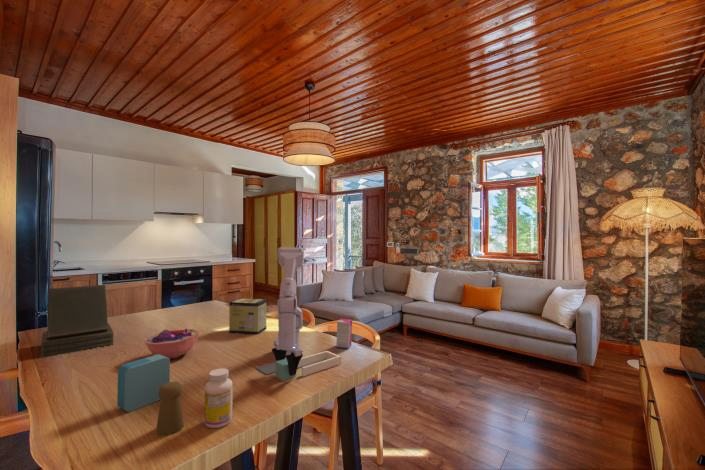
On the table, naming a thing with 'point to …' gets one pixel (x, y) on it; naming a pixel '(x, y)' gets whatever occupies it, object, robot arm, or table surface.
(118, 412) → the table surface
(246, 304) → the protein box
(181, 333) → the cell model
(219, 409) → the supplement bottle
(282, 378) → the block
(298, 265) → the robot arm
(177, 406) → the brown pepper mill
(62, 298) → the dark stepped-base plaque
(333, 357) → the frame
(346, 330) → the supplement box
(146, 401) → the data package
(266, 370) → the mat
